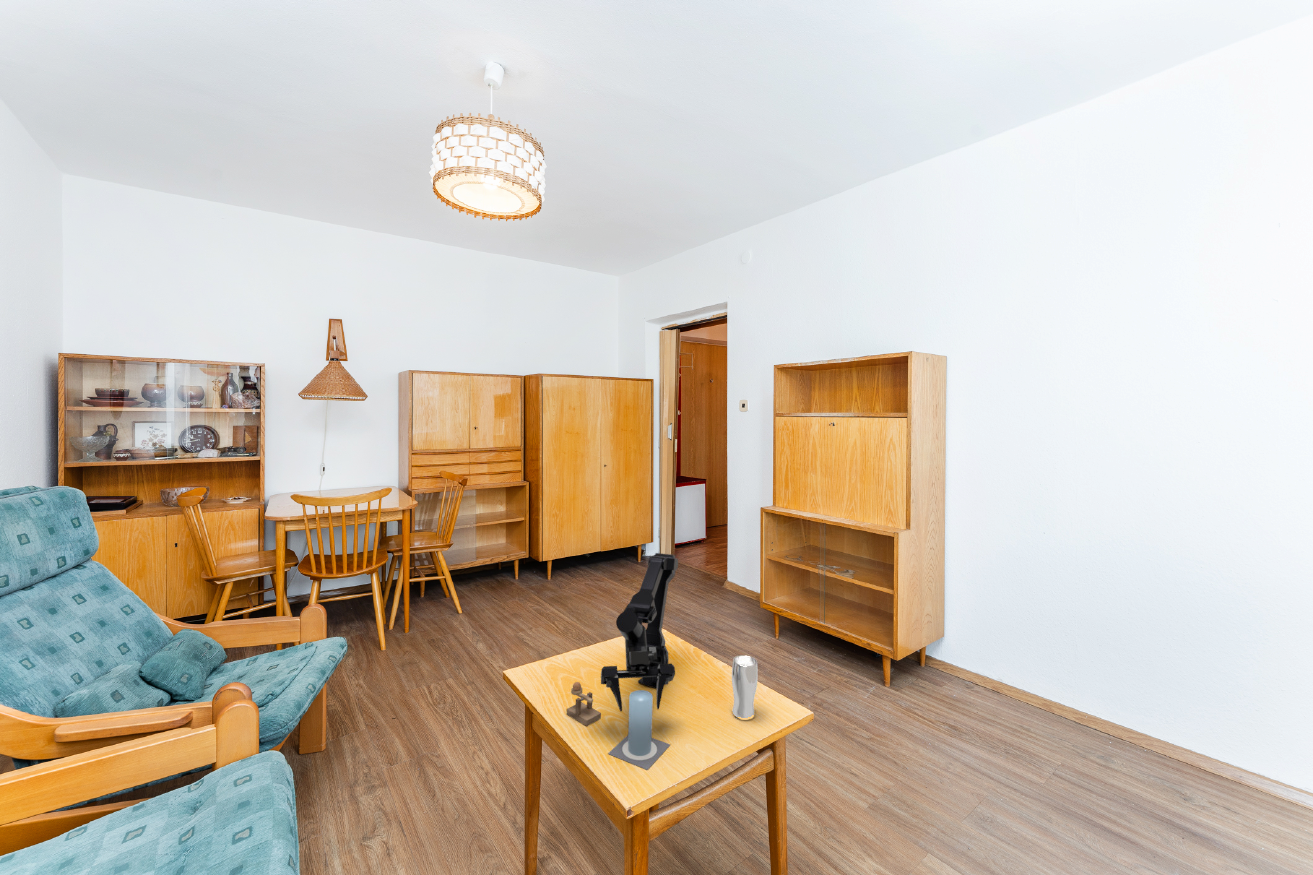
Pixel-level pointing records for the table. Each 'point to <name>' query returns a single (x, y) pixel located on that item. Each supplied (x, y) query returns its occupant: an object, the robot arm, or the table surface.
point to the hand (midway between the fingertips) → (639, 709)
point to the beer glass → (744, 685)
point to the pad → (641, 761)
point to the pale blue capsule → (640, 723)
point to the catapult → (583, 707)
